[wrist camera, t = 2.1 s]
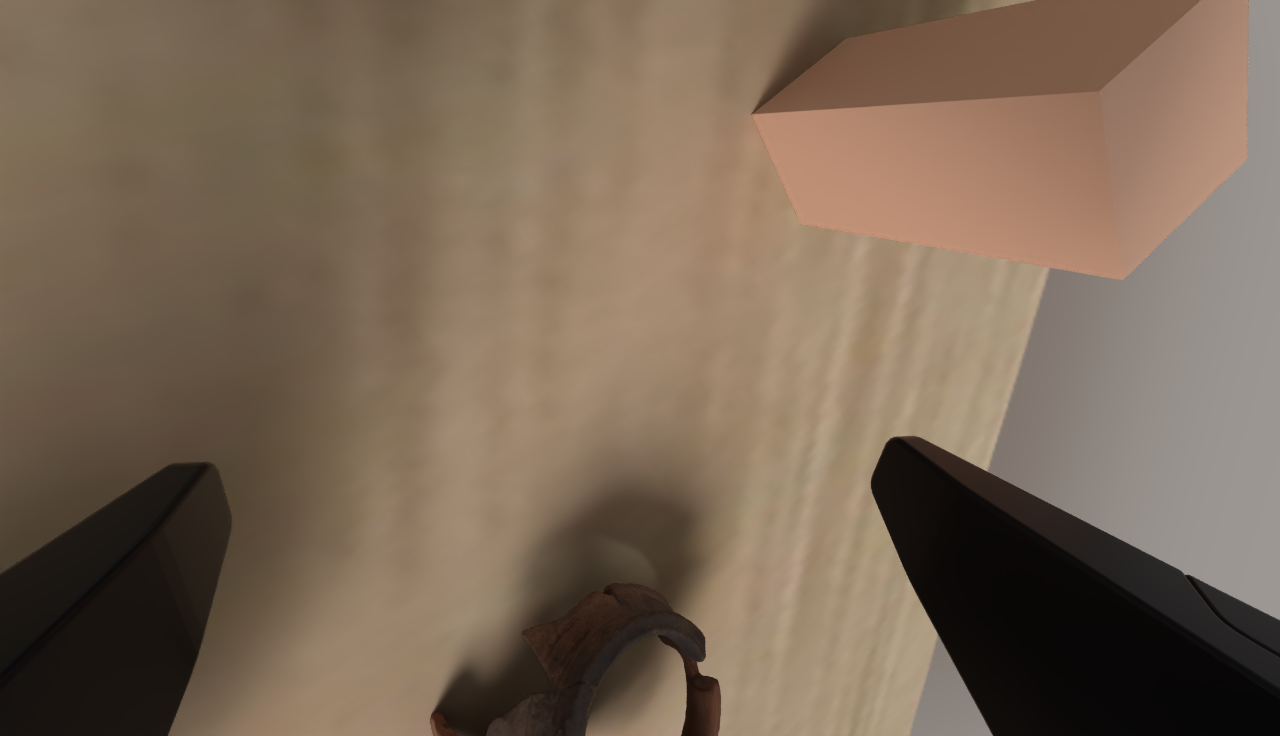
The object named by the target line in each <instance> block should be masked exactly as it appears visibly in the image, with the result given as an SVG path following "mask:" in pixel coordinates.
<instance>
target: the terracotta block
mask: <svg viewBox="0 0 1280 736" xmlns="http://www.w3.org/2000/svg"><path fill="white" fill-rule="evenodd" d="M1248 12H1249V0H1035V1H1030V2H1025V3H1020V4H1015V5H1010V6H1005V7H1000V8H995V9H990V10H985V11H980V12H975V13H970V14H965V15H960V16H955V17H950V18H946V19H941V20H936V21H931V22H926V23H921V24H916V25H911V26H906V27H901V28H896V29H891V30H886V31H881V32H876V33H871V34H866V35H861V36H857V37H852V38H847V39H845V40H843V41H842V42H841V43H840V44H838V45H837V46H836V47H835V48H833V49H832V50H831V51H830V52H829V53H827V54H826V55H825V56H824V57H822V58H821V59H820V60H819V61H817V62H816V63H815V64H814V65H812V66H811V67H810V68H809V69H807V70H806V71H805V72H804V73H802V74H801V75H800V76H799V77H797V78H796V79H795V80H794V81H792V82H791V83H790V84H789V85H787V86H786V87H785V88H784V89H783V90H781V91H780V92H779V93H778V94H776V95H775V96H774V97H773V98H771V99H770V100H769V101H768V102H766V103H765V104H764V105H763V106H761V107H760V108H759V109H758V110H756V111H755V112H754V113H753V114H752V117H753V119H754V121H755V123H756V126H757V128H758V130H759V132H760V135H761V137H762V139H763V141H764V143H765V146H766V148H767V150H768V152H769V155H770V157H771V159H772V161H773V164H774V166H775V168H776V170H777V172H778V175H779V177H780V179H781V181H782V184H783V186H784V188H785V190H786V193H787V195H788V197H789V199H790V201H791V204H792V206H793V208H794V210H795V213H796V215H797V217H798V219H799V222H800V224H805V225H810V226H816V227H822V228H828V229H833V230H839V231H845V232H850V233H856V234H862V235H868V236H873V237H879V238H885V239H890V240H896V241H902V242H908V243H913V244H919V245H925V246H930V247H936V248H942V249H948V250H953V251H959V252H965V253H970V254H976V255H982V256H988V257H993V258H999V259H1005V260H1010V261H1016V262H1022V263H1028V264H1033V265H1039V266H1045V267H1051V268H1056V269H1062V270H1068V271H1073V272H1079V273H1085V274H1091V275H1096V276H1102V277H1108V278H1113V279H1119V280H1123V279H1124V278H1125V277H1126V276H1128V274H1130V273H1131V272H1132V271H1133V270H1134V269H1135V268H1136V267H1137V266H1138V265H1139V264H1140V263H1141V262H1142V261H1143V260H1144V259H1145V258H1146V257H1147V256H1148V255H1149V254H1150V253H1151V252H1152V251H1153V250H1154V249H1155V248H1156V247H1157V246H1158V245H1159V244H1160V243H1161V242H1163V240H1165V239H1166V237H1168V236H1169V235H1170V234H1171V233H1172V232H1173V231H1174V230H1175V229H1176V228H1177V227H1178V226H1179V225H1180V224H1181V223H1182V222H1183V221H1184V220H1185V219H1186V218H1187V217H1188V216H1189V215H1190V214H1191V213H1192V212H1193V211H1195V210H1196V209H1197V208H1198V207H1199V206H1200V205H1201V204H1202V202H1204V201H1205V200H1206V199H1207V198H1208V197H1209V196H1210V195H1211V194H1212V193H1213V192H1214V191H1215V190H1216V189H1217V188H1218V187H1219V186H1220V185H1221V184H1222V183H1223V182H1224V181H1225V180H1226V179H1227V178H1229V176H1230V175H1231V174H1233V173H1234V172H1235V170H1237V169H1238V168H1239V167H1240V166H1241V165H1242V164H1243V163H1244V162H1245V161H1246V160H1247V132H1248V129H1247V127H1248V123H1247V122H1248V15H1249V13H1248Z"/></svg>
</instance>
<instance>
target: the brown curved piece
mask: <svg viewBox="0 0 1280 736" xmlns="http://www.w3.org/2000/svg"><path fill="white" fill-rule="evenodd" d="M655 635H658V637H659V638H660V639H661V641H662V642H663V643H664V644H666V645H668V646H671V647H673V648H674V649H676V650H677V651H678V652H679V653H680V655H681V657H682V659H683V662H684V668H685V673H686V682H687V707H686V717H685V722H684V726H683V730H682V735H681V736H718V732H719V728H720V715H721V694H720V686H719V682H718V680H717V679H715V678H713V677H709V676H703V675H701V674H700V673H699V670H698V666H697V662H702V661H703V660H704V659H705V657H706V653H705V637H704V635H703V633H702V632H701V631H700V630H699V629H698V628H697V627H696V626H695V625H694V624H693V623H692V622H691V621H689V620H687V619H686V618H684V617H683V616H681V615H680V614H678V613H675V612H674V611H673V610H672V609H671V607H670V606H669V605H668V603H667V601H666V600H665V599H664V598H663V597H662V596H661V595H659V594H658V593H657V592H655V591H653V590H651V589H649V588H647V587H644V586H641V585H635V584H618V583H613V584H610V585H608V586H607V587H606V588H605V590H604V592H603V593H602V592H593V593H591V594H590V595H588V596H587V597H585V598H584V599H583V600H582V601H580V603H579V604H578V605H577V606H576V607H574V608H573V609H572V610H570V611H569V612H568V613H567V614H566V615H565V616H563V617H562V618H560V619H558V620H555V621H553V622H551V623H549V624H542V625H538V626H535V627H532V628H530V629H528V630H525V631H523V632H522V633H521V636H522V638H523V639H524V640H526V641H527V642H528V643H529V644H530V646H531V648H532V649H533V651H534V652H535V654H536V657H537V659H538V661H539V662H540V664H541V666H542V667H543V669H544V671H545V673H546V675H547V677H548V680H549V682H550V685H551V688H550V690H549V691H545V692H537V693H532V694H530V695H527V696H526V697H524V698H523V699H522V700H521V701H520V702H519V703H517V704H516V705H515V706H514V707H513V708H512V709H511V710H509V711H508V712H507V713H506V714H504V715H502V716H500V717H497V718H496V719H494V720H493V721H492V722H491V723H490V725H489V727H488V730H487V734H486V736H585V732H586V726H587V720H588V717H589V711H590V708H591V706H592V703H593V701H594V697H595V694H596V693H597V690H598V688H599V686H600V685H601V683H602V681H603V679H604V677H605V675H606V674H607V673H608V671H609V669H610V668H611V667H612V666H613V664H614V663H615V661H616V660H617V659H618V658H619V657H620V655H621V654H622V653H623V652H624V651H625V650H627V649H628V647H629V646H631V645H632V644H633V643H635V642H637V641H639V640H641V639H643V638H645V637H648V636H655ZM430 724H431V728H432V732H433V736H457V735H456V733H455V732H454V731H452V730H450V729H449V728H448V724H447V722H446V720H445V718H444V716H443V715H442V714H441V713H440V712H436V713H434V714H432V715H431V719H430Z"/></svg>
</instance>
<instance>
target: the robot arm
mask: <svg viewBox="0 0 1280 736" xmlns="http://www.w3.org/2000/svg"><path fill="white" fill-rule="evenodd" d="M871 489H872V493H873V496H874V498H875V501H876V503H877V506H878V508H879V510H880V513H881V515H882V517H883V520H884V522H885V524H886V527H887V529H888V532H889V534H890V536H891V539H892V541H893V543H894V546H895V548H896V550H897V553H898V555H899V558H900V560H901V562H902V565H903V567H904V569H905V571H906V574H907V576H908V578H909V580H910V582H911V584H912V586H913V588H914V590H915V592H916V594H917V596H918V598H919V600H920V602H921V604H922V605H923V607H924V609H925V611H926V613H927V615H928V617H929V618H930V620H931V622H932V624H933V626H934V628H935V629H936V631H937V633H938V635H939V637H940V639H941V641H942V642H943V644H944V646H945V648H946V650H947V652H948V654H949V655H950V657H951V659H952V661H953V663H954V665H955V666H956V668H957V670H958V672H959V674H960V676H961V677H962V679H963V681H964V683H965V685H966V687H967V689H968V691H969V692H970V694H971V696H972V698H973V700H974V702H975V703H976V705H977V707H978V709H979V711H980V713H981V714H982V716H983V718H984V720H985V722H986V724H987V726H988V728H989V729H990V731H991V733H992V735H993V736H1280V620H1278V619H1276V618H1274V617H1272V616H1270V615H1268V614H1266V613H1264V612H1262V611H1260V610H1258V609H1256V608H1254V607H1252V606H1250V605H1248V604H1246V603H1244V602H1242V601H1240V600H1238V599H1236V598H1234V597H1232V596H1230V595H1228V594H1226V593H1224V592H1222V591H1220V590H1218V589H1216V588H1214V587H1212V586H1210V585H1208V584H1206V583H1204V582H1202V581H1200V580H1198V579H1196V578H1195V577H1193V576H1190V575H1184V573H1183V572H1182V571H1180V570H1179V569H1177V568H1175V567H1173V566H1171V565H1169V564H1167V563H1165V562H1163V561H1161V560H1159V559H1157V558H1155V557H1153V556H1151V555H1149V554H1147V553H1145V552H1143V551H1141V550H1139V549H1137V548H1136V547H1133V546H1132V545H1130V544H1128V543H1126V542H1124V541H1122V540H1120V539H1118V538H1116V537H1114V536H1112V535H1110V534H1108V533H1106V532H1104V531H1102V530H1100V529H1098V528H1096V527H1094V526H1092V525H1090V524H1089V523H1087V522H1085V521H1083V520H1081V519H1079V518H1077V517H1075V516H1073V515H1071V514H1069V513H1067V512H1065V511H1063V510H1061V509H1059V508H1057V507H1055V506H1053V505H1051V504H1049V503H1047V502H1045V501H1044V500H1042V499H1039V498H1038V497H1036V496H1034V495H1032V494H1030V493H1028V492H1026V491H1024V490H1022V489H1020V488H1018V487H1016V486H1014V485H1012V484H1010V483H1008V482H1006V481H1004V480H1002V479H1000V478H999V477H997V476H995V475H993V474H991V473H989V472H987V471H985V470H983V469H981V468H979V467H977V466H975V465H973V464H971V463H969V462H967V461H965V460H963V459H961V458H959V457H957V456H955V455H953V454H952V453H950V452H948V451H946V450H944V449H942V448H940V447H938V446H936V445H934V444H932V443H930V442H928V441H926V440H924V439H922V438H920V437H916V436H900V437H893V438H891V439H890V440H889V441H888V442H887V443H886V445H885V447H884V449H883V451H882V454H881V456H880V458H879V461H878V463H877V465H876V468H875V470H874V472H873V475H872V478H871ZM231 527H232V516H231V511H230V507H229V504H228V501H227V497H226V494H225V491H224V487H223V484H222V480H221V477H220V474H219V471H218V469H217V468H216V466H215V465H214V464H212V463H210V462H187V463H174V464H170V465H168V466H166V467H164V468H163V469H161V470H160V471H158V472H157V473H155V474H154V475H152V476H150V477H149V478H147V479H146V480H144V481H143V482H141V483H140V484H138V485H137V486H135V487H133V488H132V489H130V490H129V491H127V492H126V493H124V494H123V495H121V496H120V497H118V498H116V499H115V500H113V501H112V502H110V503H109V504H107V505H106V506H104V507H103V508H101V509H99V510H98V511H96V512H95V513H93V514H92V515H90V516H89V517H87V518H86V519H84V520H82V521H81V522H79V523H78V524H76V525H75V526H73V527H72V528H70V529H69V530H67V531H65V532H64V533H62V534H61V535H59V536H58V537H56V538H55V539H53V540H52V541H50V542H49V543H47V544H45V545H44V546H42V547H41V548H39V549H38V550H36V551H35V552H33V553H32V554H30V555H28V556H27V557H25V558H24V559H22V560H21V561H19V562H18V563H16V564H15V565H13V566H11V567H10V568H8V569H7V570H5V571H4V572H2V573H1V574H0V736H168V734H169V731H170V729H171V726H172V723H173V721H174V718H175V716H176V713H177V711H178V708H179V706H180V703H181V700H182V698H183V695H184V693H185V690H186V688H187V685H188V683H189V680H190V677H191V675H192V672H193V669H194V666H195V663H196V661H197V658H198V655H199V651H200V648H201V644H202V641H203V637H204V634H205V630H206V626H207V622H208V618H209V615H210V611H211V607H212V603H213V599H214V595H215V592H216V588H217V584H218V580H219V576H220V572H221V568H222V565H223V561H224V557H225V553H226V549H227V545H228V542H229V538H230V534H231Z"/></svg>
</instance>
